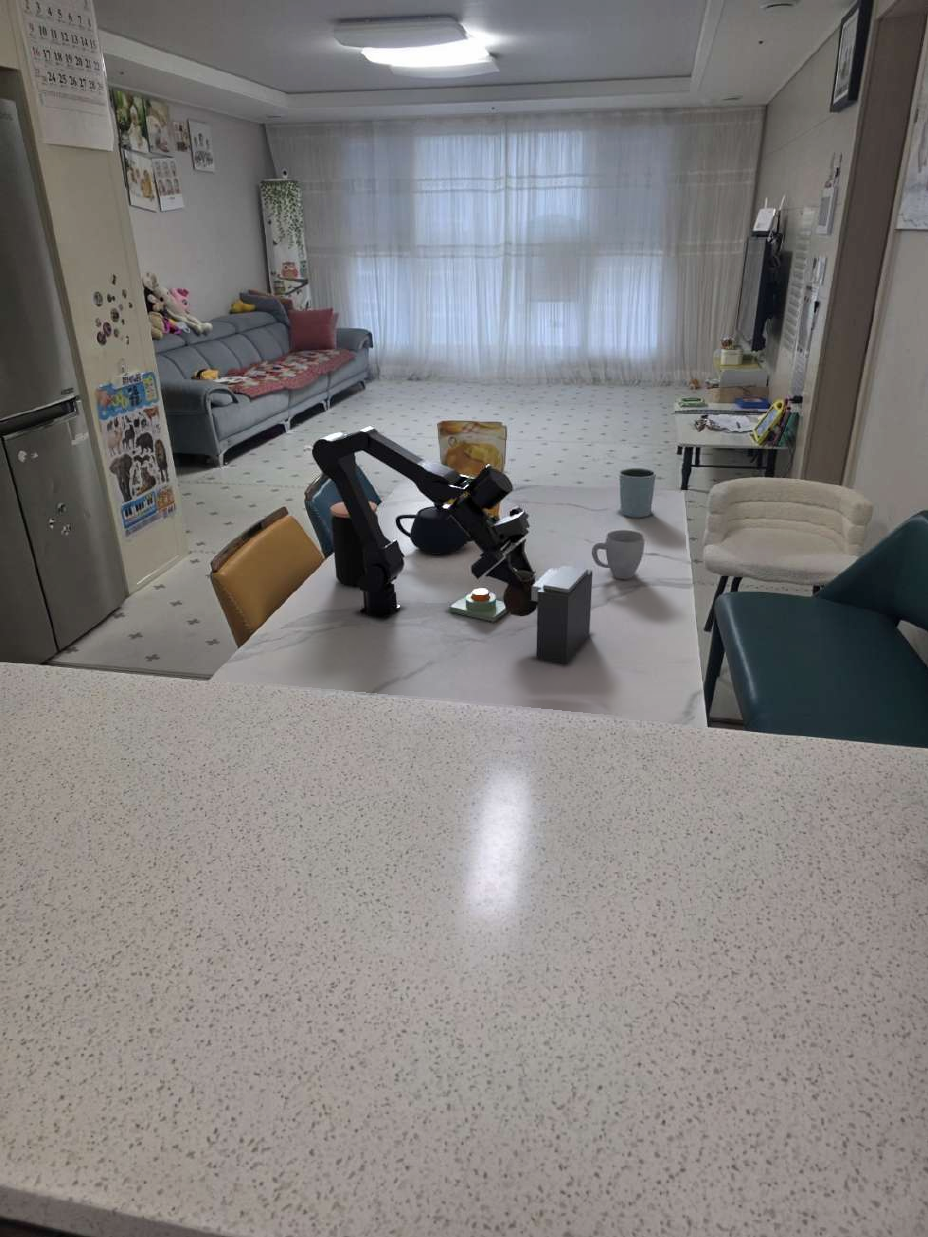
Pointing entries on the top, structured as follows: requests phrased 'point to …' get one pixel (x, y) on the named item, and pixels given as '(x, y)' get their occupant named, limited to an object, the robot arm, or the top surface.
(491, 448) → the pancake mix bag
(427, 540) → the teapot
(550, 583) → the lidded grey bin
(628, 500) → the blue cup
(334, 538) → the coffee jar
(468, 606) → the pad
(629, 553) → the mug
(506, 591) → the mate gourd
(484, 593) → the eject button
